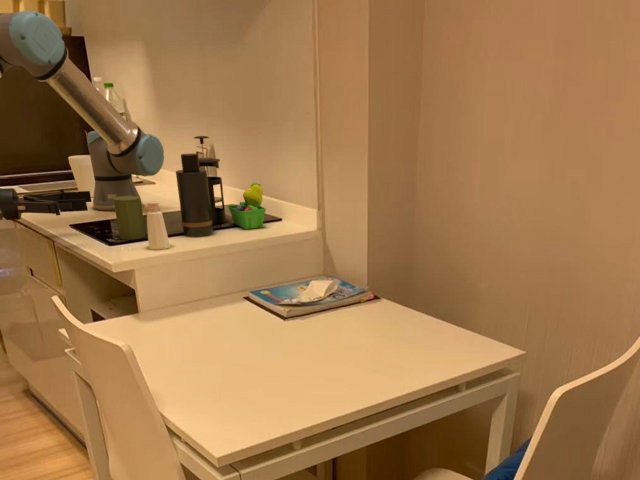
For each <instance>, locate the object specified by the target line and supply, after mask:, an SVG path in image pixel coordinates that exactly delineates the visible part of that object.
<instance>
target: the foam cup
mask: <svg viewBox="0 0 640 480" xmlns="http://www.w3.org/2000/svg"><path fill="white" fill-rule="evenodd" d="M67 159H68V164H69V166H70V168H71V171H72V175H73V177H74V181H75V183H76V184H75V185H76V188H77V190H78V191H90V196H91V198H93V197H94V189H95V178H94V173H93V168H92V163H91V158H90V154H84V155H83V154H79V155H71V156H68V157H67Z"/></svg>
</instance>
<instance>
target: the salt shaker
mask: <svg viewBox="0 0 640 480" xmlns="http://www.w3.org/2000/svg"><path fill="white" fill-rule="evenodd" d="M146 204H147V209H148V212H146V222H147V224H146V225H147V243H148V248H149V249H150V250H154V251H155V250H156V251H158V250H166V249H169V248H170V247H171V245H170V244H171V243H170V240H169V236H168V231H167V227H166V223H165V219H164V216H163V215H164V214H163V212H162V211H160V202H159V201H158V200H150V201H147V202H146Z"/></svg>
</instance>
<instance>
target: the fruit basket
mask: <svg viewBox="0 0 640 480" xmlns="http://www.w3.org/2000/svg"><path fill="white" fill-rule="evenodd" d="M263 192H264V191H263V188H262V187H261V183H257V182H253V183H252V184H251V185H250V187H249V188H248V189H246V190H245V191H244V192H243V194H242V197H243V200H244V201H240V202H239V204H232V205H228V206H227V208H228V210H229V211H230V214H231V217H232V220H233V224H234V225H236V226H238V227H240V228H242V229H244V230H252V229H259V228H263V225H264V220H265V214H266V211H267V208H266V207H263V206H261V205H262V202H263Z"/></svg>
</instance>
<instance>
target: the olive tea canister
mask: <svg viewBox="0 0 640 480" xmlns="http://www.w3.org/2000/svg"><path fill="white" fill-rule="evenodd" d="M139 196H140V195H139ZM139 196H120V197H115V198H113V201H114V207H115V210H114V212H115V218H116V224H117V229H118V235H119V238H120V239H121V240H128V241H129V240H130V241H133V240H140V239H145V238H146V237H147V231H146V223H145V217H144V210H143V203H142V204H141V202H142V199H140V198H141V196H140V197H139Z"/></svg>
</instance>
